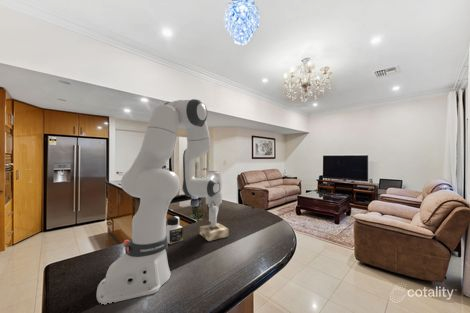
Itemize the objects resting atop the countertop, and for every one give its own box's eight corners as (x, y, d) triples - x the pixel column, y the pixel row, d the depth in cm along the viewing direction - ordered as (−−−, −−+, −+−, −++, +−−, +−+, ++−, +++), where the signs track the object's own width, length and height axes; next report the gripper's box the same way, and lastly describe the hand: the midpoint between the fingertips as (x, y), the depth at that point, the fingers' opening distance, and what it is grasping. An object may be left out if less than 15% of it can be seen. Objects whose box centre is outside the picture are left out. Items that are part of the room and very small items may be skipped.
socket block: (208, 241, 102) (208, 233, 102) (199, 233, 112) (199, 226, 112) (228, 236, 108) (228, 228, 108) (218, 229, 118) (218, 222, 118)
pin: (216, 232, 108) (216, 216, 109) (210, 232, 108) (210, 216, 108) (217, 230, 112) (216, 214, 112) (211, 230, 112) (211, 214, 112)
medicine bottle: (169, 244, 98) (169, 220, 98) (163, 240, 103) (163, 217, 104) (182, 240, 103) (182, 217, 103) (176, 236, 108) (176, 214, 108)
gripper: (218, 204, 100) (218, 231, 100) (220, 196, 120) (220, 219, 120) (205, 204, 100) (206, 231, 100) (209, 196, 120) (210, 219, 120)
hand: (213, 224), depth 110 cm, fingers closed on pin, 3 cm apart
